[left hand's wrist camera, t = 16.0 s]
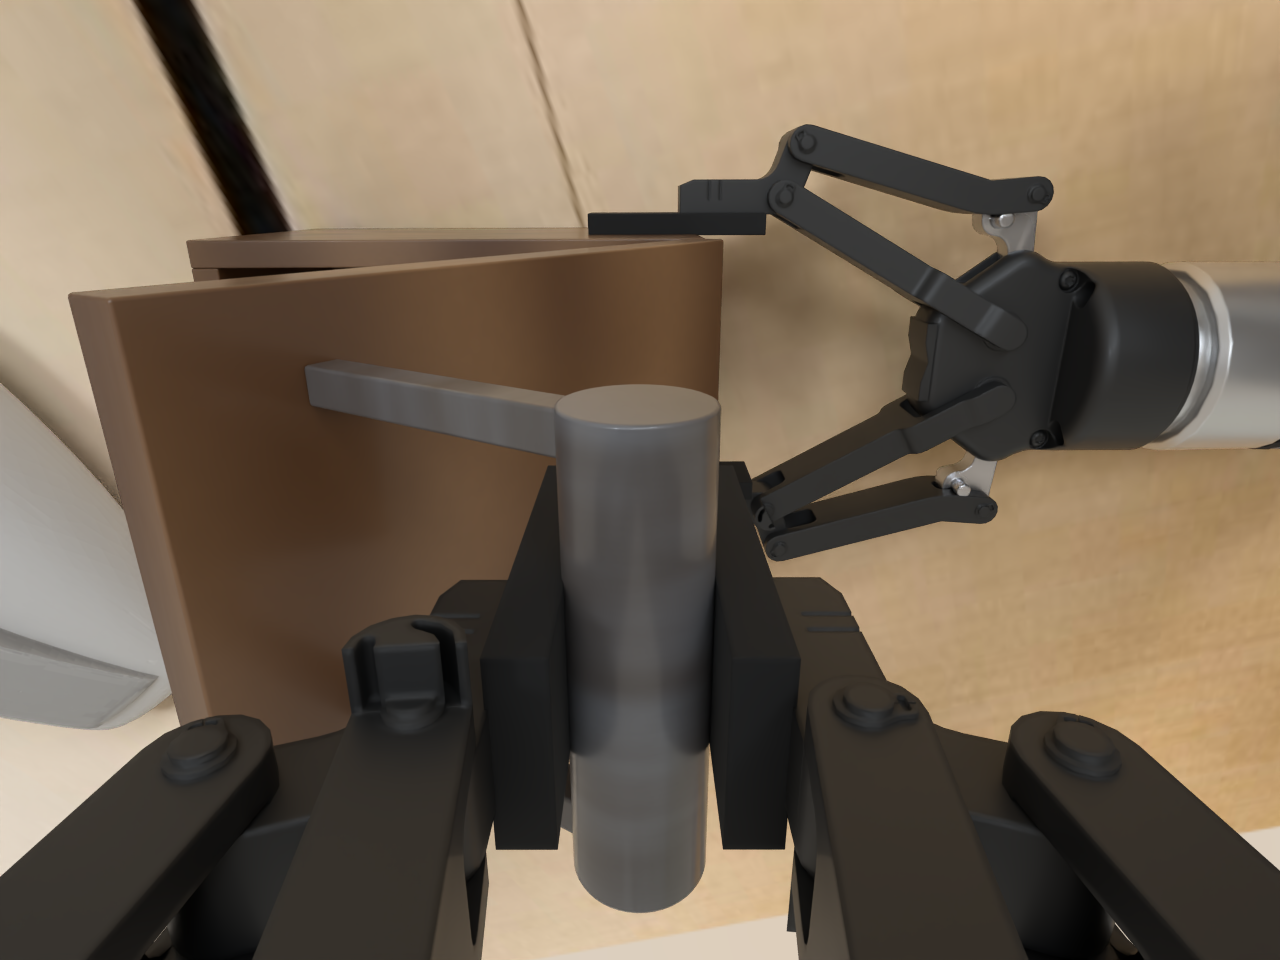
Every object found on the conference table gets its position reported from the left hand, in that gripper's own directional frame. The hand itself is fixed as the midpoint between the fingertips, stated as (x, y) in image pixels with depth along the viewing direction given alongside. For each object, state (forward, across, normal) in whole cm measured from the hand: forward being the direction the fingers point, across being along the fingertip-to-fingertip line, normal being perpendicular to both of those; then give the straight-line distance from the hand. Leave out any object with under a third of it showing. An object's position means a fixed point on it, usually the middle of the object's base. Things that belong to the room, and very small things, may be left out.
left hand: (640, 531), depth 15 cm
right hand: (+17, -2, 0) cm, 17 cm away
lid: (+5, -3, 0) cm, 6 cm away
